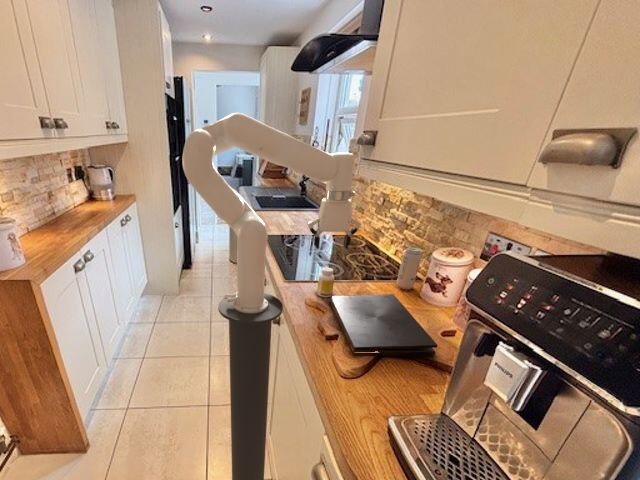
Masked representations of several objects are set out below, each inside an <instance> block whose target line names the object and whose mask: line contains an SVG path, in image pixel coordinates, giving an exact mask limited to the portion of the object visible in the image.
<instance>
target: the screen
mask: <svg viewBox="0 0 640 480" xmlns="http://www.w3.org/2000/svg"><path fill="white" fill-rule="evenodd" d="M330 299H331V301H332V303H333V305H334V307H335V309H336V311H337V314H338V316H339V318H340V320H341V322H342V324H343V326H344V329H345V331H346V333H347V335H348V337H349V339H350V342H351V344H352V346H353V348H354V350H359V349H398V348H433V349H434V348H435V349H437V348H438V346H439V345H438V344H437V343H436V341H435V340H434V339H433V338H432V336H431V335H429V333H428V332H427V331H426V330H425V329H424V327H423V326H422V325H421V324H420V323H419V322H418V320H417V319H416V318H415V317H414V316H413V315H412V313H411V312H410V311H409V310H408V309H407V308H406V307H405V305H404V304H403V303H402V302H401V301H400V300H399V299H398V297H397V296H396V295H395V294H394V293H387V294H359V295H332V296H330Z"/></svg>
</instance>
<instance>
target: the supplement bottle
mask: <svg viewBox="0 0 640 480" xmlns="http://www.w3.org/2000/svg"><path fill="white" fill-rule="evenodd" d="M334 284H335V275H334V268H332V267H322V268H321V273H320V274H319V276H318V282H317V290H316V294H317V295H318V296H319V297H322V298H329V297H330V298H331V296H333V292H334Z"/></svg>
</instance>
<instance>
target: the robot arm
mask: <svg viewBox="0 0 640 480" xmlns="http://www.w3.org/2000/svg"><path fill="white" fill-rule="evenodd" d="M233 148H237V149H240V150H242V151H245V152H246V153H248V154H250V155H253V156H255V157H257V158H259V159H261V160H263V161H266V162H269V163H272V164H273V165H276V166H281V167H284V168H287V169H290V170H293V171H295V172H297V173H300V174H302V175H304V176H305V177H307V178H309V179H311V180H313V181H314V180H315V181H316V182H321V183H324V182H326V185H325V194H324V198H322V199H321V202H320V207H319V212H318V217H317V218H315V219H314V218H313V220H310V221H309V222H307V227H308V229H309V231H310V232H311V234H312V235H313V236H314V238H313V246H314V247H315V249H317V250H319V248H320V241H321V237H320V235H322V234H323V233H345V234H344V237H343V248H344V249H346V250H348V249H349V246H351V239H352V237H353V236H354V235H355V234H356V233H357V232H358V230H359V229H360V227H361V226H362V223H361V222H359V221H358V220H356V219H354V218H352V214H353V213H352V211H353V210H352V200H351V198H352V197H355V195H356V192H355V191H352V190H351V189H352V183H353V175H354V168H355V161H356V156H355V154H353V153H350V152H335V153H334V152H333V153H329V152H326V151H324V150H323V149H320V148H318V147H316V146H314V145H312V144H309V143H307V142H305V141H302V140H301V139H298V138H296V137H294V136H292V135H290V134H288V133H286V132H283V131H281V130H279V129H277V128H274V127H272V126H270V125H268V124H266V123H263V122H262V121H259V120H258V119H256V118H254V117H252V116H249V115H247V114H245V113H242V112H234V113H231V114H229V115H227V116H225V117H224V118H221V119H219V120H217V121H214V122H213V123H210V124H208V125H205V126H203V127H200V128H198V129H194V130H192V131H191V132H190V133H189V134H188V135H187V137H186V140H185V143H184V146H183V150H182V159H181V160H182V169H183V173H184V175H185V177H186V179H187V182H188V183H189V184H190V185H191V187H192V188H193V189H194V191H196V193H197V194H198V195H199V196H200V197H201V198H202V200H203V201H204V202H205V203H206V204H207V205H208V206H209V208H211V210H212V211H213V212H214V213H215V215H216V216H217V217H218V218H219V219H220V220H222V221H224V222H225V223H226V224H227V225H228V226H229V227H230V228H231V229H232V230H233V231H234V233H235V235H236V239H237V240H236V241H237V247H236V292H233V293H234V294H233V293H224V297H225V299H228V302H231V301H233V307H234V308H235V309H236V310H237V311H239V312H242V313H250V314H253V313H259V312H262V311H264V310H266V309H267V307H268V301H267V300H266V299H265V298H264V293H265V281H266V255H267V254H266V253H267V245H268V239H269V238H268V237H269V236H268V235H269V232H268V228H267V226H266V223H265V222H264V220H262V219H261V218H260V217H259V215H258V214H257V213H256V212H255V211H254V209H252V208H251V206H250V205H249V204H248V203H247V201H245V199H244V198H243V197H242V196H241V195H240V193H239V192H238V191H237V190H236V189H235V188H234V187H231V185H229V183H228V182H227V181H226V179H224V177H223V176H222V175H221V173H220V172H218V170H217V169H216V167H215V165H214V156H217V155H220V154H222V153H224V152H226V151H229V150H232V149H233ZM316 224H317V229H316V230H315V229H314V225H316ZM352 224H353V225H354V226H353V227H352V228H351V225H352Z"/></svg>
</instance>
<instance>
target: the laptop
mask: <svg viewBox="0 0 640 480" xmlns="http://www.w3.org/2000/svg"><path fill="white" fill-rule="evenodd" d="M329 305H330V307H331V309H332V312H333V314H334V316H335V318H336V320H337V322H338V325H339V327H340V329H341V332H342V334H343V336H344V338H345V340H346V343H347V345H348V347H349V349H350V352H351V354H352V356H356V357H357V356H358V357H402V358H403V357H404V358H405V357H406V358H435V356H436V352H437V351H436V350H435V349H434V348H398V349H359V350H354V348H353V346H352V344H351V342H350V339H349V337H348V335H347V333H346V331H345V329H344V326H343V324H342V322H341V320H340V318H339V316H338V314H337V311H336V309H335V307H334V305H333V303H332V301H331V298H330V299H329ZM350 345H351V346H350ZM351 347H352V348H351ZM352 349H353V350H352ZM375 351H378V352H380V353H354V352H375Z"/></svg>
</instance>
